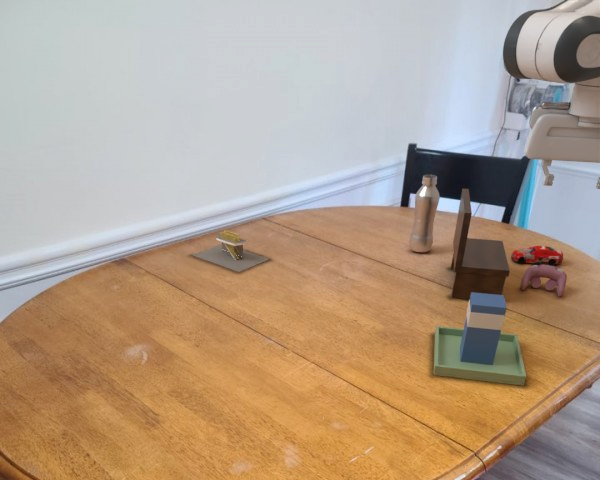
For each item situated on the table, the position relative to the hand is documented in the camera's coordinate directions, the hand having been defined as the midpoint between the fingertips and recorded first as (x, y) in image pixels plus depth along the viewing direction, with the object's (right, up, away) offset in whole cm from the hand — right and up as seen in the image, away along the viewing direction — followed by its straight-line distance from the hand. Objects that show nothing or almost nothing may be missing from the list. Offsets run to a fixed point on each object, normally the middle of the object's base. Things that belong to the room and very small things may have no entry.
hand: (573, 186), depth 105 cm
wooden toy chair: (-8, -11, +35) cm, 37 cm away
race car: (+13, -2, +47) cm, 49 cm away
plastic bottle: (-17, +2, +53) cm, 56 cm away
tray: (-17, -32, +5) cm, 36 cm away
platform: (-70, -1, +48) cm, 85 cm away
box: (-17, -31, +5) cm, 36 cm away
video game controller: (+8, -13, +32) cm, 36 cm away
